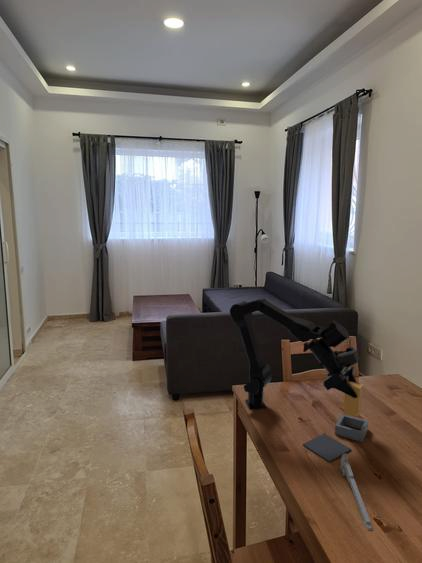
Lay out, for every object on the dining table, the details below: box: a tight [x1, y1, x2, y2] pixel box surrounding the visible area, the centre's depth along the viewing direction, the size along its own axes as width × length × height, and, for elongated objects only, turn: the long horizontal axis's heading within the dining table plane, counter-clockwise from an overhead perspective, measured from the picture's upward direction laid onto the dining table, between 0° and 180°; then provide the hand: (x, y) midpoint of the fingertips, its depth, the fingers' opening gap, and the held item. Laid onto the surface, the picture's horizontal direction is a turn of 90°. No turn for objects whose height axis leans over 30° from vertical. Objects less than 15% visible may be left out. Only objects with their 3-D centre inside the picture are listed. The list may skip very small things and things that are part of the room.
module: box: [342, 381, 364, 418], centre depth 122 cm, size 4×4×10 cm
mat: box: [302, 433, 352, 463], centre depth 115 cm, size 10×10×1 cm
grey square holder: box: [334, 413, 369, 443], centre depth 123 cm, size 8×8×3 cm
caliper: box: [340, 453, 373, 531], centre depth 94 cm, size 20×1×6 cm, turn 178°
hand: (358, 394), depth 120 cm, fingers closed on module, 4 cm apart
